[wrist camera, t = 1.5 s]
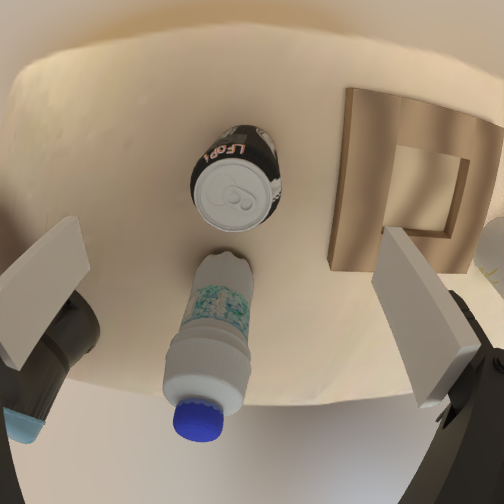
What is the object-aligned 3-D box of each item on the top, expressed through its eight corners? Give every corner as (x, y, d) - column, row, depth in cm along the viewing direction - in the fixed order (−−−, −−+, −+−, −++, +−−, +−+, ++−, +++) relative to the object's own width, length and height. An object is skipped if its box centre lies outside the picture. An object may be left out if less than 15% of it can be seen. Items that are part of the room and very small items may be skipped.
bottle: (198, 239, 32) (138, 405, 15) (260, 248, 33) (254, 424, 15) (195, 289, 36) (152, 446, 19) (251, 297, 36) (240, 460, 19)
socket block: (327, 258, 33) (330, 271, 31) (346, 88, 24) (353, 88, 22) (457, 263, 32) (466, 273, 30) (492, 124, 23) (504, 128, 21)
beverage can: (258, 192, 29) (254, 256, 19) (205, 167, 28) (169, 217, 18) (287, 141, 27) (302, 178, 16) (231, 113, 26) (207, 131, 15)
